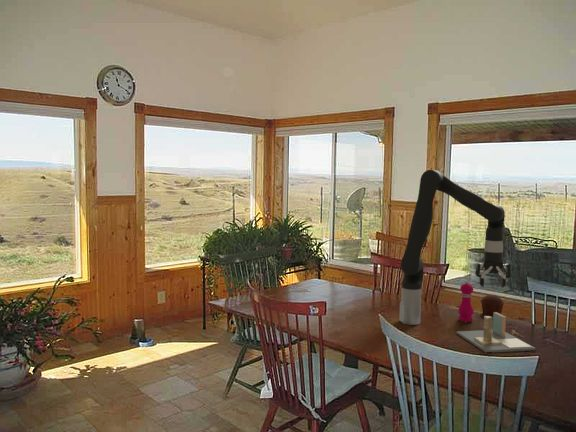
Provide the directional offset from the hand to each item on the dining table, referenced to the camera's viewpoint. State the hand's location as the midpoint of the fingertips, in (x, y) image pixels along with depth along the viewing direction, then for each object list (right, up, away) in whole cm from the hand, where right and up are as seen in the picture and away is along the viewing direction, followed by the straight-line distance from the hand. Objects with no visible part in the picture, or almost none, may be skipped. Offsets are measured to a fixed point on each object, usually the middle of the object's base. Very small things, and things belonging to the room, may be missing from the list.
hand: (492, 286), depth 211 cm
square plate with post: (-6, -22, -9) cm, 25 cm away
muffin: (+16, -20, +37) cm, 45 cm away
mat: (-1, -23, -5) cm, 24 cm away
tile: (+4, -22, +2) cm, 22 cm away
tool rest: (+4, -23, -10) cm, 25 cm away
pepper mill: (-2, -21, +26) cm, 33 cm away
